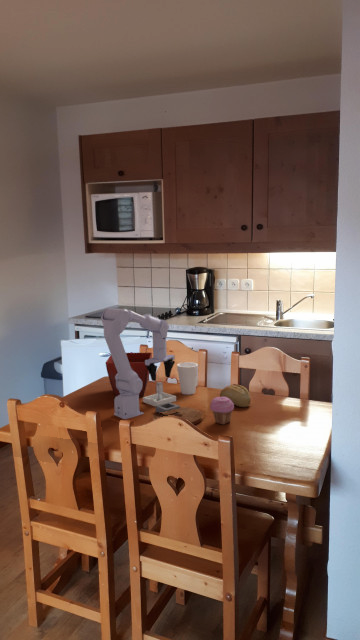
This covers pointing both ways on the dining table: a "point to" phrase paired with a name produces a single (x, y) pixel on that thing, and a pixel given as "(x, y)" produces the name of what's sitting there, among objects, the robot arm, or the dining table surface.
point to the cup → (166, 407)
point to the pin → (159, 391)
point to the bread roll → (237, 395)
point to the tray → (153, 402)
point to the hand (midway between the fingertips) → (160, 378)
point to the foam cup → (187, 377)
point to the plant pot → (136, 365)
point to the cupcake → (222, 409)
